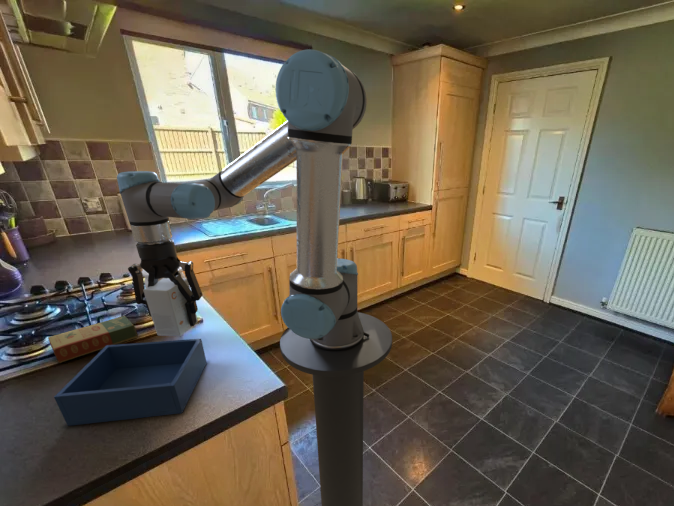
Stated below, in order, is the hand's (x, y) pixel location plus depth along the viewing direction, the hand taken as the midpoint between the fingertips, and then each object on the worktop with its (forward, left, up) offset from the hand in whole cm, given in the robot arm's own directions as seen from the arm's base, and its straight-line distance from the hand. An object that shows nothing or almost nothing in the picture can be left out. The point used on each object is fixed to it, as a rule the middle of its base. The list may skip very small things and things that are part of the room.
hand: (177, 324), depth 86 cm
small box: (0, 0, -1) cm, 1 cm away
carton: (+20, -1, -5) cm, 21 cm away
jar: (+7, -16, -5) cm, 18 cm away
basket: (0, +20, -5) cm, 20 cm away
